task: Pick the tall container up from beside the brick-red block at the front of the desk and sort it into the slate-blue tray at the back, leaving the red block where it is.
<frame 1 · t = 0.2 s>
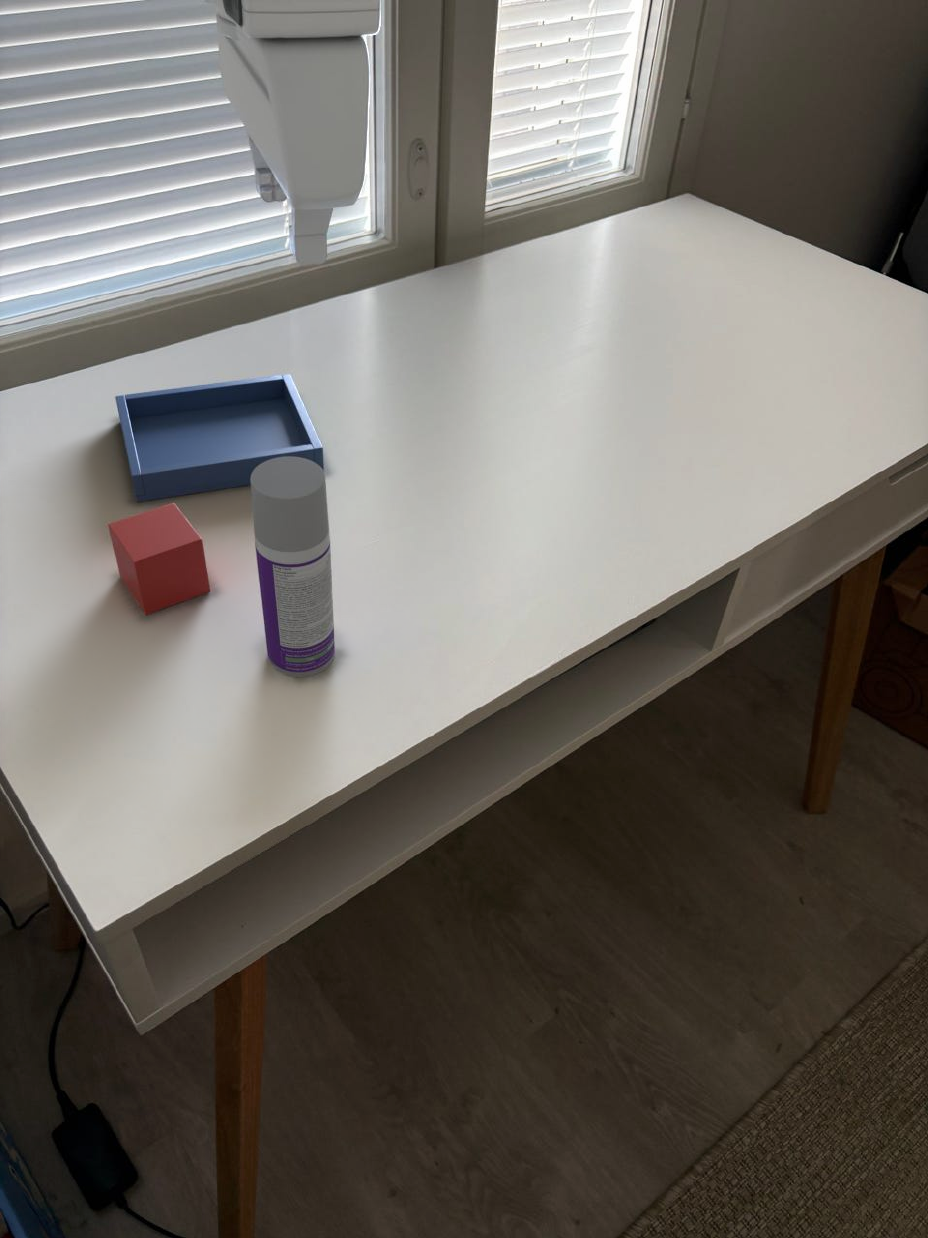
hand: (290, 227, 60), 26 cm above the table, tool pointing down, fingers open, 8 cm apart
red block: (165, 584, 75), on the table
tray: (219, 446, 89), on the table
container: (301, 655, 71), on the table
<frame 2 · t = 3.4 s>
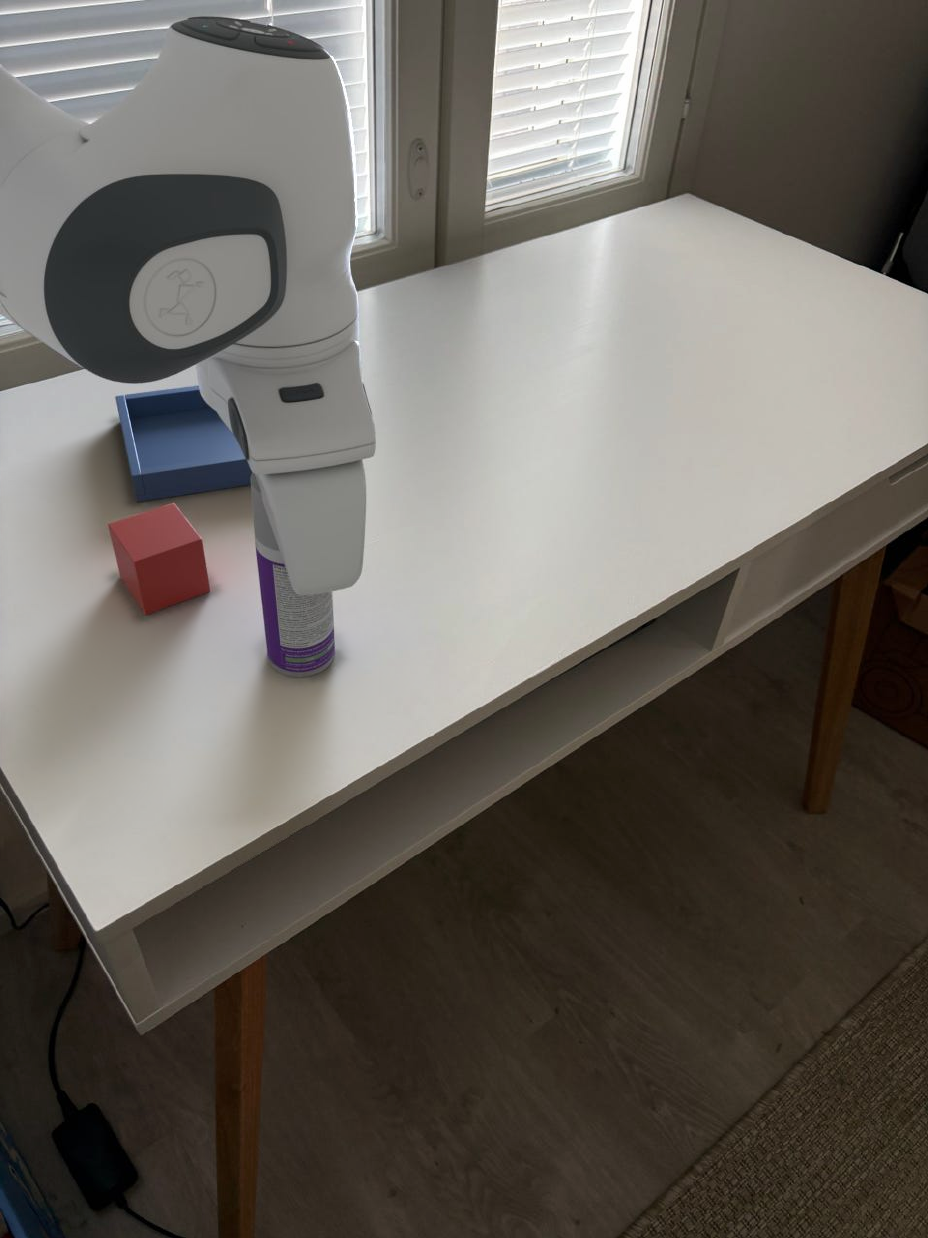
hand: (293, 553, 64), 9 cm above the table, tool pointing down, fingers closed on container, 5 cm apart
container: (301, 655, 71), on the table, touching gripper
everything else where it was.
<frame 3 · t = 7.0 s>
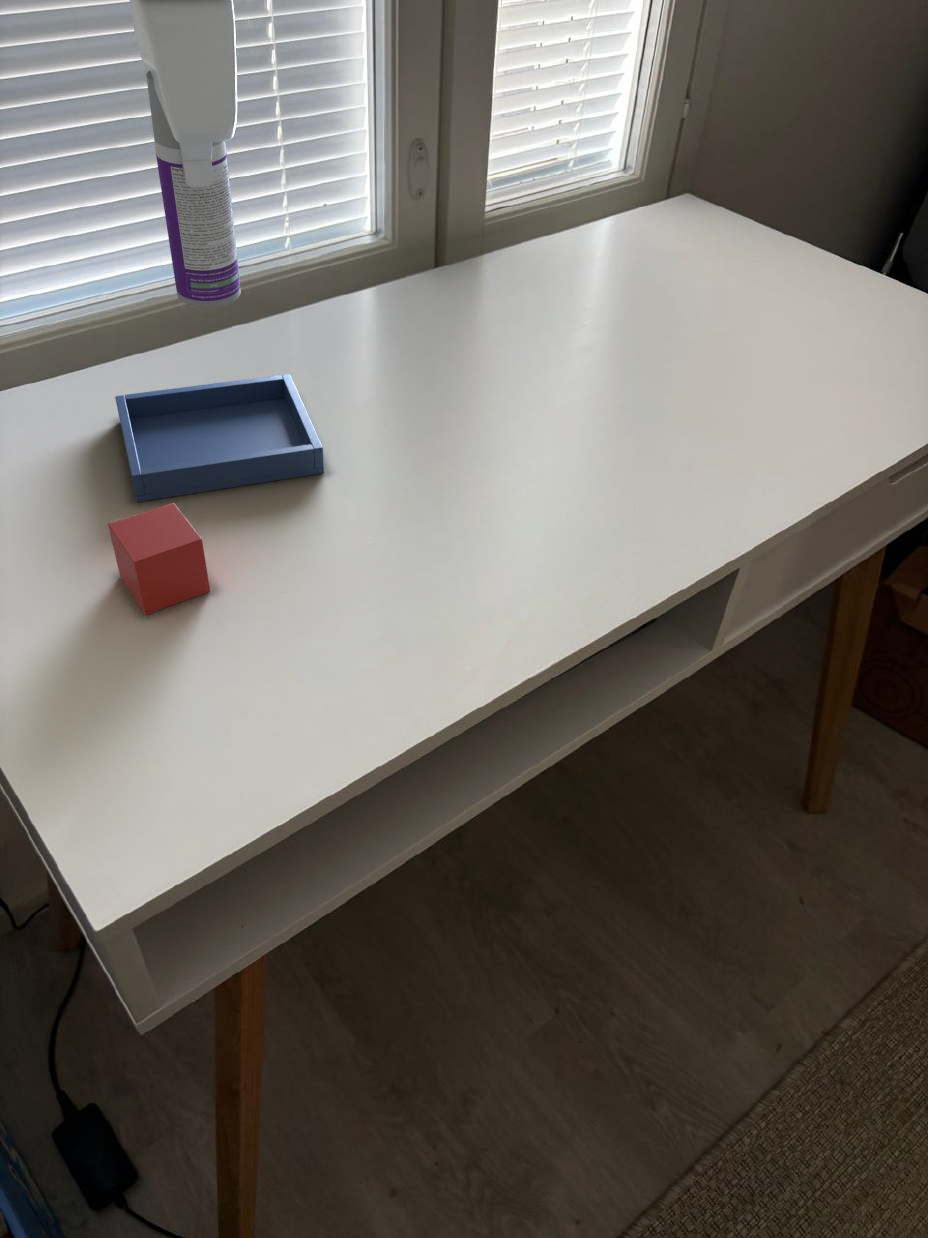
hand: (192, 167, 69), 25 cm above the table, tool pointing down, fingers closed on container, 4 cm apart
container: (209, 295, 76), point 16 cm above the table, touching gripper
everything else where it was.
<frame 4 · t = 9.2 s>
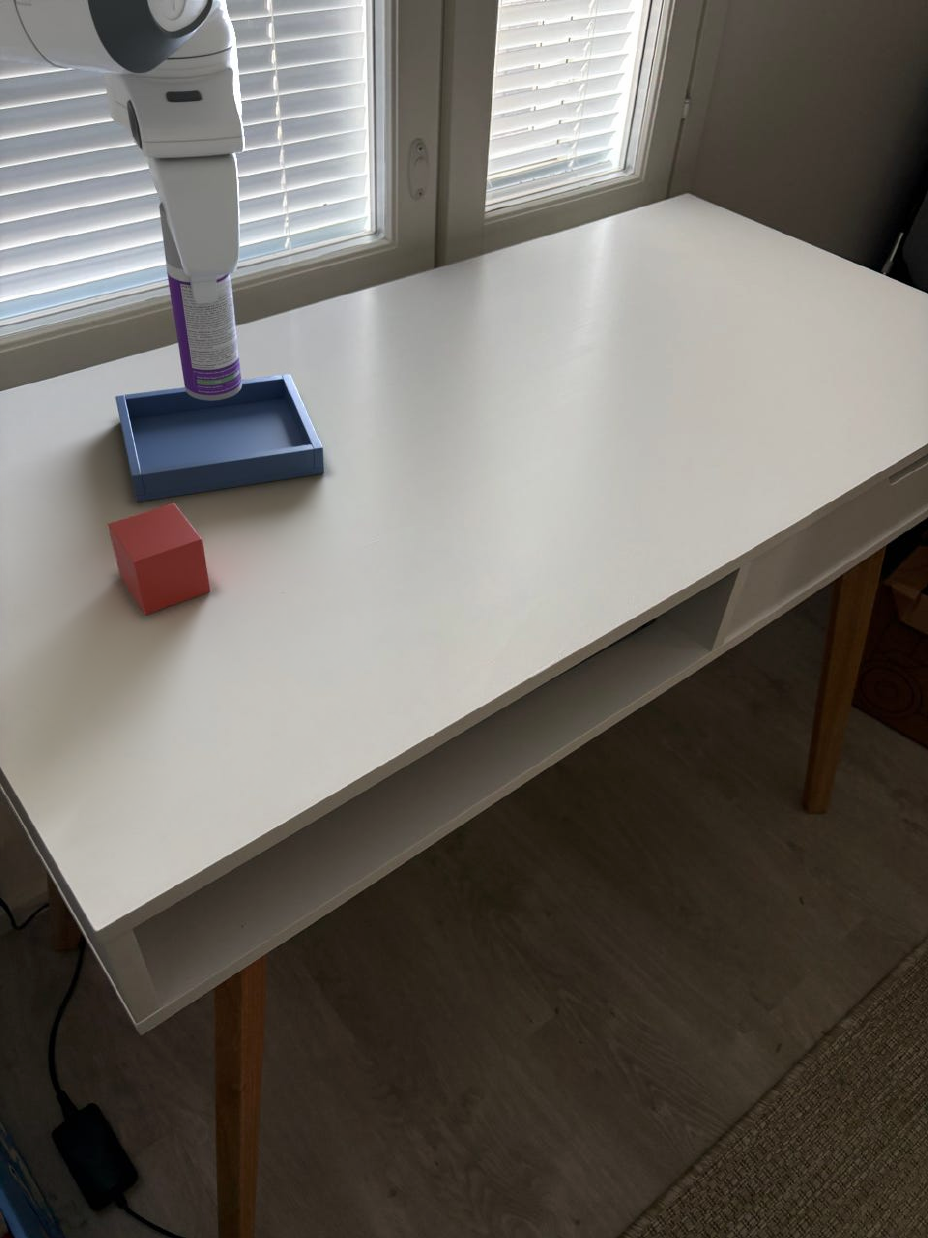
hand: (199, 282, 78), 15 cm above the table, tool pointing down, fingers closed on container, 5 cm apart
container: (213, 388, 85), point 6 cm above the table, touching gripper
everything else where it was.
when the fingers open (10 cm above the table, at t = 10.9 s): container stays where it is, resting on tray.
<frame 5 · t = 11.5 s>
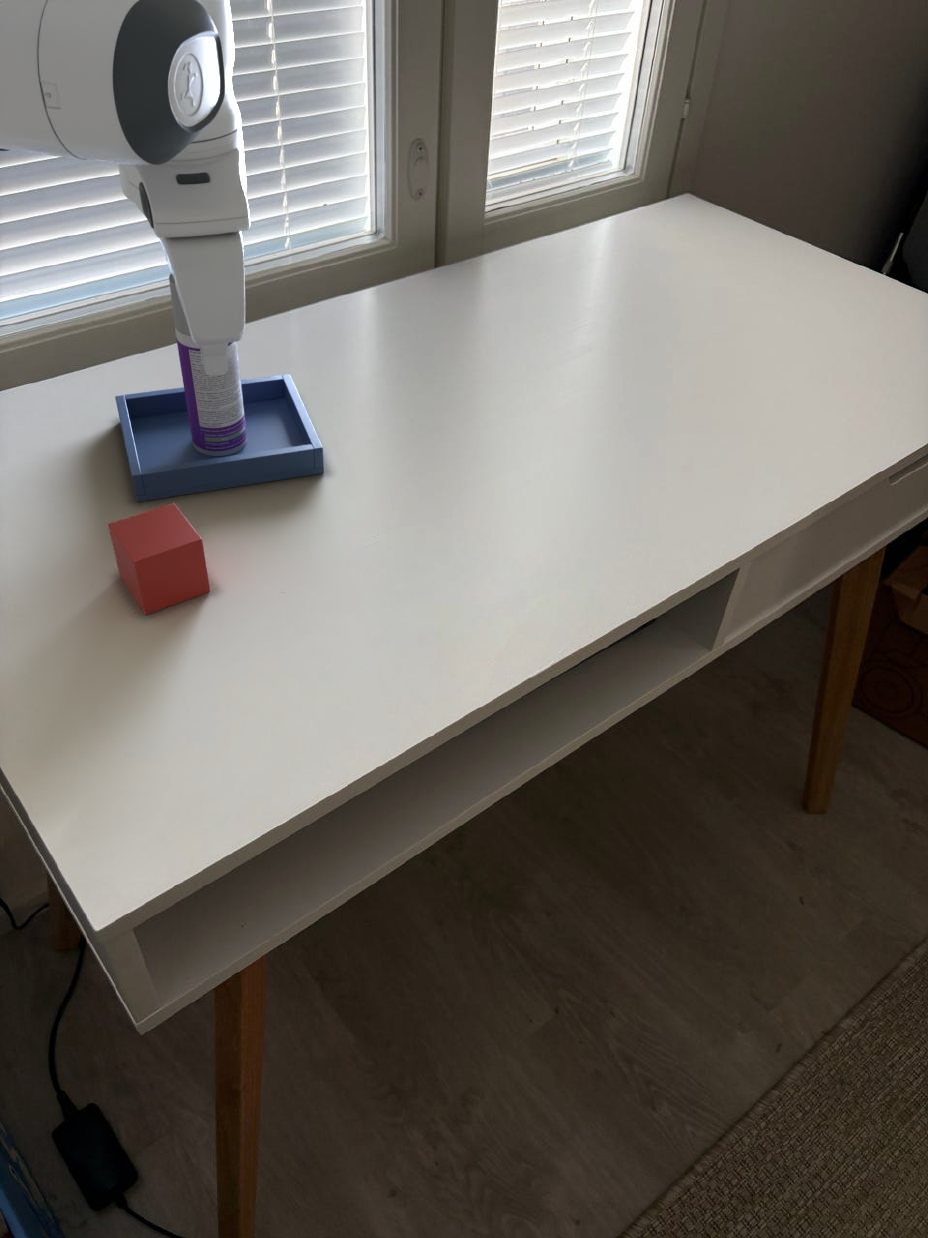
hand: (205, 341, 82), 10 cm above the table, tool pointing down, fingers open, 8 cm apart
container: (220, 443, 88), resting on tray
everything else where it was.
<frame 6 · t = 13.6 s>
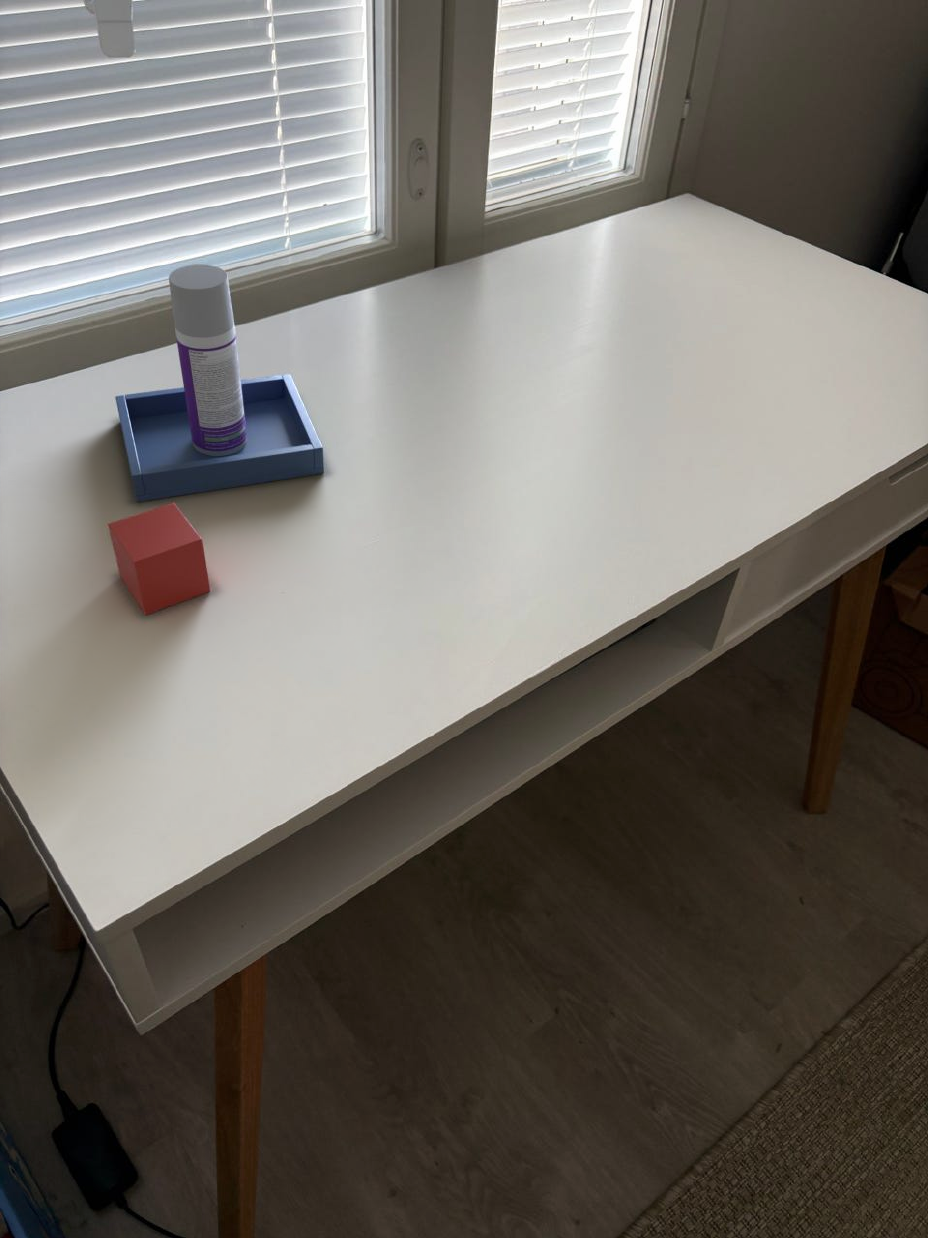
hand: (109, 31, 59), 34 cm above the table, tool pointing down, fingers open, 8 cm apart
nothing on the table moved.
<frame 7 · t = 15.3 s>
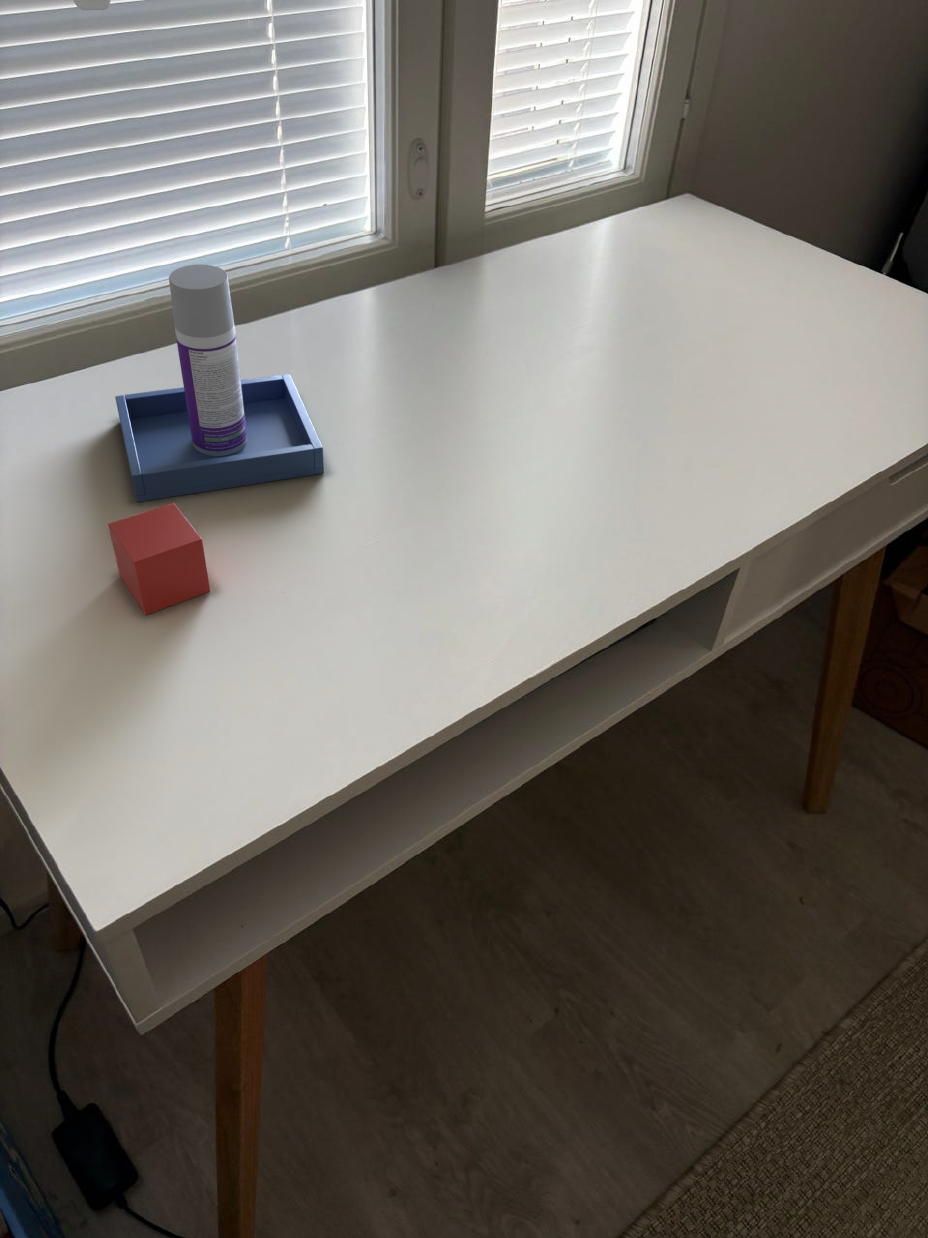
nothing on the table moved.
at the end: container inside the target area in the tray (0.1 cm from its centre), point 0.4 cm above the tray's base; container tilted 0°; red block moved 0.0 cm from its start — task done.
